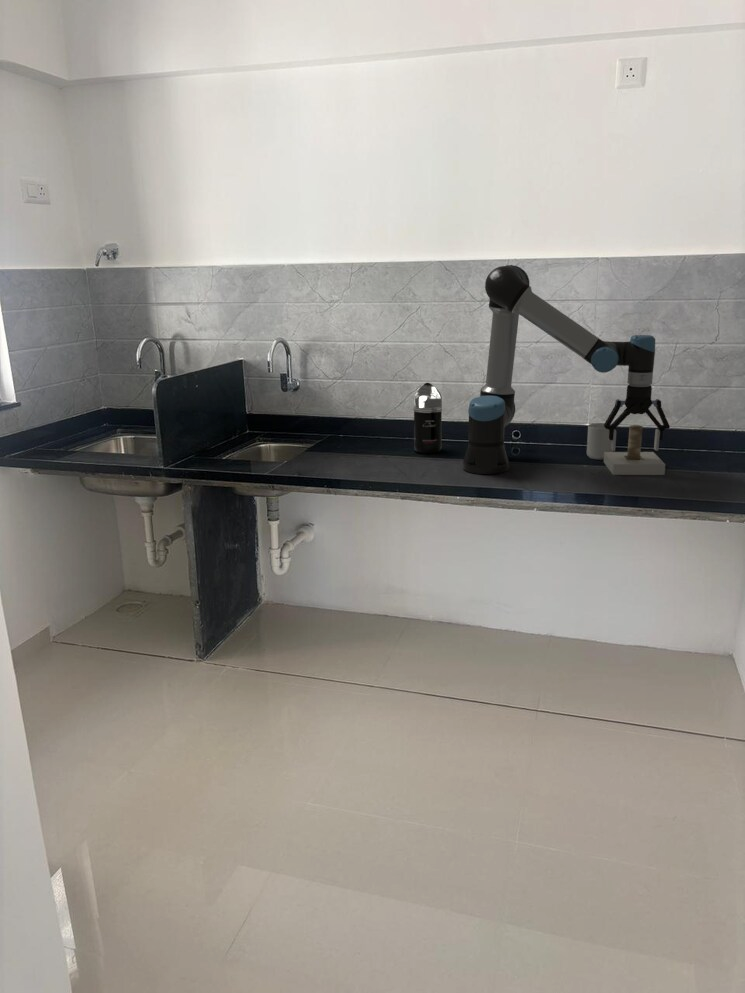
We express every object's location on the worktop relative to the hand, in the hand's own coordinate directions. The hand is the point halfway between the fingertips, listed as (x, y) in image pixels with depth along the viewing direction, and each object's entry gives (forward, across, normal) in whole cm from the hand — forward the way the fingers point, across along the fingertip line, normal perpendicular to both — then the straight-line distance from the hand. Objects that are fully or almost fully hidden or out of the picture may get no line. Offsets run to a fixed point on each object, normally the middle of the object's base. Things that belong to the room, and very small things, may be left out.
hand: (634, 449), depth 254 cm
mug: (+7, -8, +16) cm, 19 cm away
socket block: (+6, 0, 0) cm, 6 cm away
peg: (+6, 0, 0) cm, 6 cm away
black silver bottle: (+6, -68, +23) cm, 72 cm away
